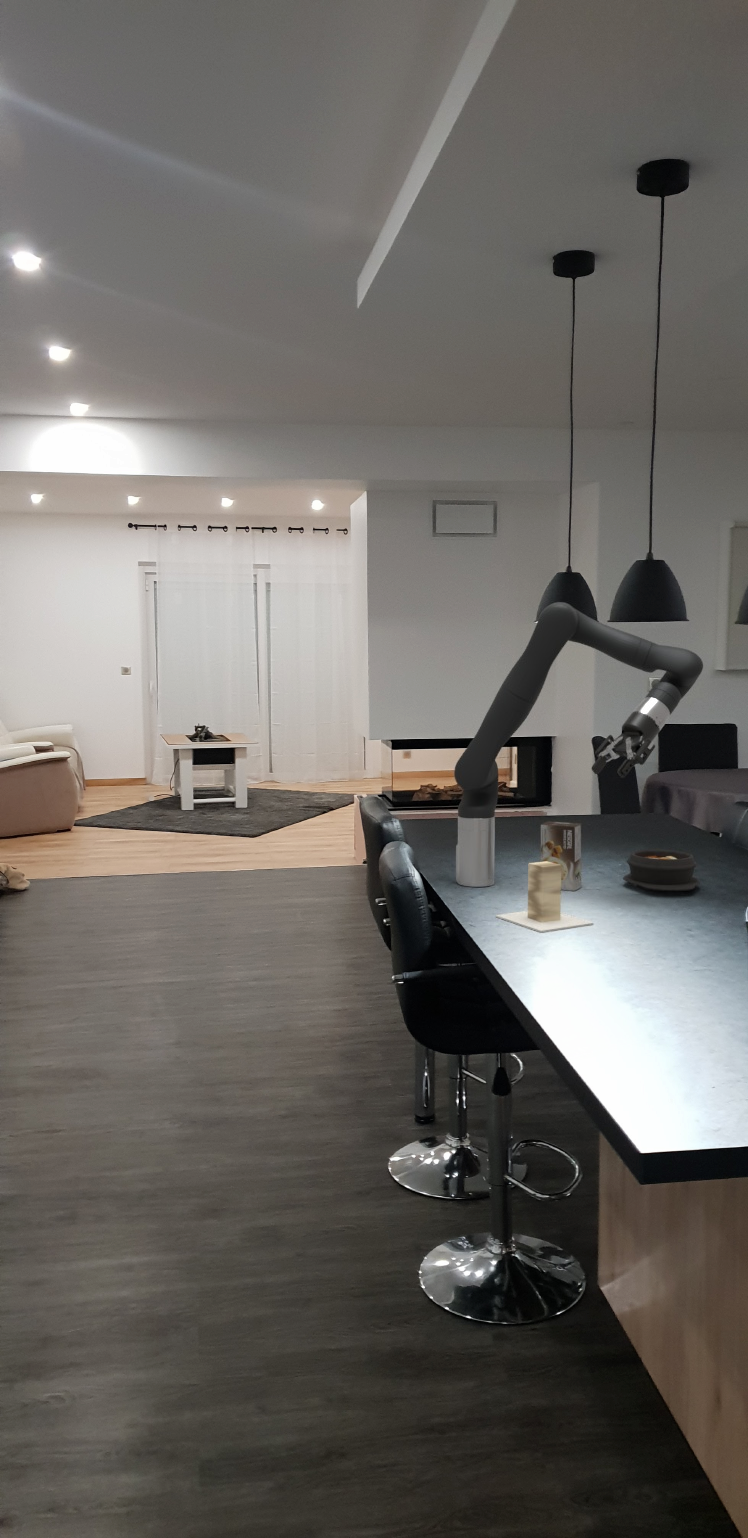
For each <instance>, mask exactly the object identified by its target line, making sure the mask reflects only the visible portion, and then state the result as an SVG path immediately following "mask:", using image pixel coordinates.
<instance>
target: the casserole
mask: <svg viewBox="0 0 748 1538" xmlns="http://www.w3.org/2000/svg"><path fill="white" fill-rule="evenodd" d="M626 864H628V866H629V873H628V874H626V875H624V876H623V878H622V879H623V880H624V881H625V882H626V883H629V884H632V885H635V886H636V887H637V888H640V889H644V890H648V891H653V892H685V891H692V890H693V889H695V887H696V886H697V885H699V884H701V882H700V879H698V878H697V877H694V876H693V875H694V871H695V868H696V867H697V866H698V863H697V862H696V861H695V859H694V856H693V854H691V853H687V852H685V851H679V850H672V849H642V850H640V849H639V850H636V851H631V853H630V856H629V858H628V859H627V860H626Z"/></svg>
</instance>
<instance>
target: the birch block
mask: <svg viewBox="0 0 748 1538" xmlns="http://www.w3.org/2000/svg"><path fill="white" fill-rule="evenodd" d="M527 866H528V867H527V911H528V918H530V919H533V920H536V921H539V922H542V923H543V922H550V921H557V920H560V917H561V913H562V912H561V909H562V908H561V907H562V906H561V903H562V890H561V865H560V864H556V863H552V862H548V861H544V862H541V861H537V862H536V861H535V862H529V863H528V865H527Z"/></svg>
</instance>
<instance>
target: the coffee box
mask: <svg viewBox="0 0 748 1538" xmlns="http://www.w3.org/2000/svg"><path fill="white" fill-rule="evenodd" d="M582 829H583V824H582V823H579V822H578V823H577V822H562V821H550V820H548V821H545V822H543V823H542V824H540V862H544V861H548V862H552V863H556V864H560V865H561V891H562V890H563V891H571V892H572V891H577V890H579V889H580V888H581V887H582V886H583V885H582V860H583V859H582V851H583V850H582V844H583V843H582V842H583V838H582V837H583V835H582V834H583V831H582Z"/></svg>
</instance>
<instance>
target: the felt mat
mask: <svg viewBox="0 0 748 1538" xmlns="http://www.w3.org/2000/svg"><path fill="white" fill-rule="evenodd" d="M495 918H497V919H500V920H502V921H506V922H509V923H512V924H515V925H518V926H519V927H522V928H523V927H524V928H527V929H529V930H533V931H536V932H538V933H540V934H541V933H549V932H555V931H560V930H561V931H562V930H568V929H569V930H570V929H573V928H575V929H576V928H581V927H586V926H587V927H588V926H593V925H594V922H592V921H589V920H586V919H583V918H580V917H575V916H573V915H569V914H566V913H563V912H561V917H560V920H557V921H550V922H543V923H542V922H539V921H536V920H533V919H530V918H528V910H523V911H516V912H510V913H501V914H495Z"/></svg>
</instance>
